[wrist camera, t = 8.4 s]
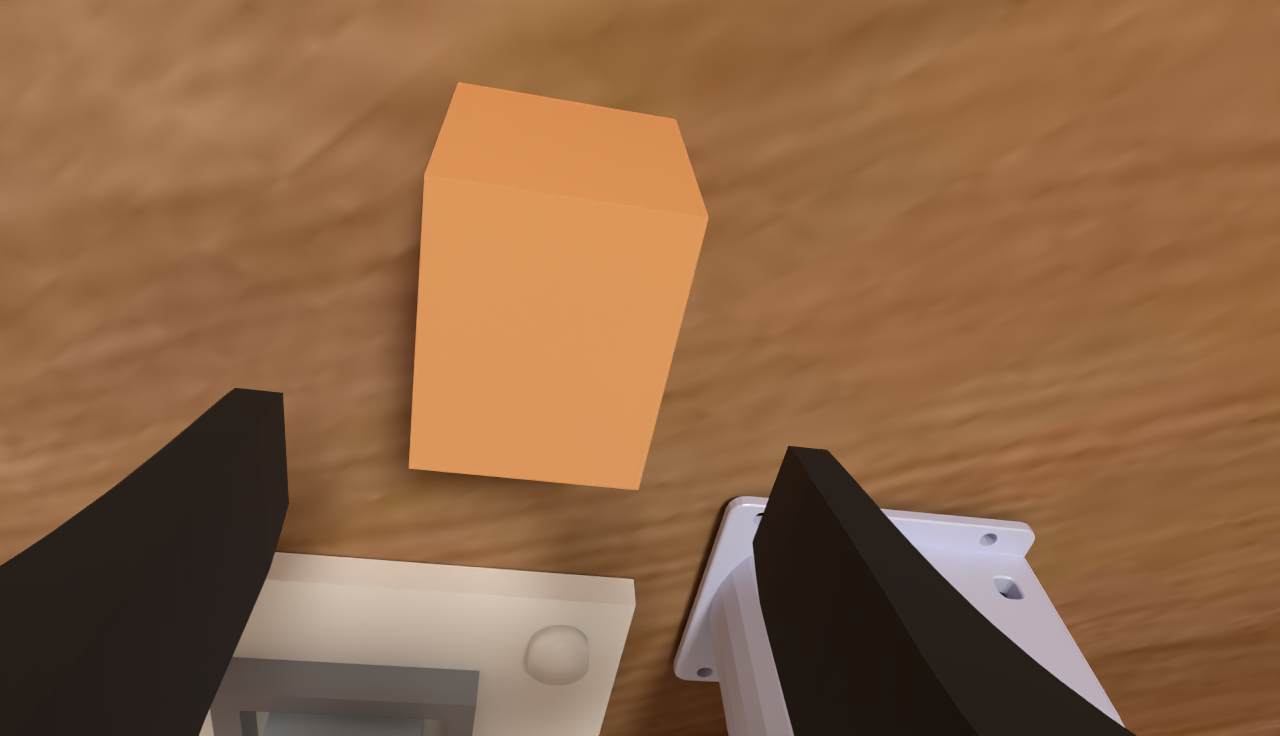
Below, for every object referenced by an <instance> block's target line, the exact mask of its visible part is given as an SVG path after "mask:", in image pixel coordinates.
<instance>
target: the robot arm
mask: <svg viewBox="0 0 1280 736" xmlns="http://www.w3.org/2000/svg"><path fill="white" fill-rule="evenodd" d="M288 505H289V498H288V479H287V461H286V443H285V424H284V406H283V393H279V392H269V391H260V390H250V389H240V388H234V389H233V390H232V391H230V392H229V393H227V394H226V395H225V396H224V397H223V398H221V399H220V400H219V401H218V402H217V403H215V404H214V405H213V406H212V407H211V408H210V409H208V410H207V411H206V412H205V413H204V414H202V415H201V416H200V417H199V418H198V419H197V420H195V421H194V422H193V423H192V424H191V425H190V426H188V427H187V428H186V429H185V430H184V431H183V432H181V433H180V434H179V435H178V436H177V437H175V438H174V439H173V440H172V441H171V442H169V443H168V444H167V445H166V446H165V447H163V448H162V449H161V450H160V451H159V452H157V453H156V454H155V455H153V456H152V457H151V458H150V459H148V460H147V461H146V462H145V463H143V464H142V465H141V466H140V467H138V468H137V469H136V470H135V471H133V472H132V473H131V474H130V475H128V476H127V477H126V478H125V479H123V480H122V481H121V482H120V483H118V484H117V485H116V486H114V487H113V488H112V489H110V490H109V491H108V492H107V493H105V494H104V495H102V496H101V497H100V498H98V499H97V500H96V501H94V502H93V503H91V504H90V505H89V506H87V507H86V508H84V509H83V510H82V511H80V512H79V513H78V514H76V515H75V516H73V517H72V518H71V519H69V520H68V521H66V522H65V523H64V524H62V525H61V526H60V527H58V528H57V529H55V530H54V531H53V532H51V533H50V534H48V535H47V536H45V537H44V538H42V539H41V540H39V541H38V542H36V543H35V544H33V545H32V546H30V547H29V548H27V549H26V550H24V551H23V552H21V553H20V554H18V555H17V556H15V557H14V558H12V559H10V560H9V561H7V562H6V563H4V564H3V565H1V566H0V736H199V734H200V732H201V729H202V726H203V724H204V721H205V719H206V716H207V714H208V712H209V709H210V707H211V705H212V702H213V700H214V698H215V696H216V693H217V691H218V689H219V686H220V684H221V682H222V679H223V677H224V675H225V673H226V670H227V668H228V666H229V663H230V661H231V659H232V656H233V654H234V652H235V650H236V647H237V645H238V643H239V640H240V638H241V636H242V634H243V631H244V629H245V627H246V624H247V622H248V620H249V617H250V615H251V613H252V610H253V608H254V606H255V603H256V601H257V599H258V596H259V594H260V592H261V589H262V587H263V585H264V582H265V580H266V577H267V575H268V573H269V570H270V567H271V564H272V561H273V557H274V554H275V551H276V547H277V544H278V540H279V537H280V533H281V530H282V526H283V523H284V519H285V515H286V512H287V508H288ZM759 513H763V515H762V516H756V515H757V514H759ZM1034 539H1035V536H1034V533H1033V531H1032V530H1031V528H1030V527H1029V526H1028V525H1027V524H1026V523H1023V522H1015V521H1005V520H994V519H984V518H973V517H963V516H952V515H942V514H931V513H920V512H910V511H899V510H889V509H880V508H879V507H878V506H877V505H876V504H875V502H874V501H873V500H872V499H871V498H870V497H869V496H868V494H867V493H866V492H865V491H864V490H863V489H862V488H861V487H860V485H859V484H858V483H857V482H856V481H855V480H854V479H853V477H852V476H851V475H850V474H849V473H848V472H847V471H846V470H845V469H844V467H843V466H842V465H841V464H840V463H839V462H838V461H837V460H836V459H835V458H834V457H833V456H832V455H831V453H830V452H829V451H828V450H823V449H813V448H804V447H794V446H788V449H787V451H786V454H785V457H784V459H783V462H782V465H781V467H780V470H779V473H778V475H777V478H776V481H775V483H774V486H773V489H772V491H771V494H770V496H769V498H762V497H752V496H741V497H738V498H735V499H734V500H732V501H731V502H729V504H728V506H727V507H726V510H725V513H724V516H723V519H722V522H721V525H720V527H719V530H718V533H717V536H716V539H715V542H714V545H713V548H712V551H711V554H710V557H709V560H708V563H707V566H706V569H705V571H704V574H703V577H702V580H701V583H700V586H699V589H698V592H697V595H696V598H695V601H694V604H693V607H692V610H691V613H690V615H689V618H688V621H687V624H686V627H685V630H684V633H683V636H682V639H681V642H680V645H679V648H678V651H677V654H676V657H675V659H674V672H675V675H676V676H677V677H679V678H680V679H683V680H693V681H711V682H719V684H720V690H721V695H722V701H723V707H724V713H725V719H726V724H727V730H728V736H1136V735H1135V734H1133V733H1132V732H1130V731H1129V730H1128V729H1126V728H1125V726H1124V724H1123V723H1122V721H1121V719H1120V717H1119V715H1118V713H1117V711H1116V710H1115V708H1114V706H1113V705H1112V703H1111V701H1110V700H1109V698H1108V696H1107V695H1106V693H1105V691H1104V690H1103V688H1102V686H1101V685H1100V683H1099V681H1098V680H1097V678H1096V676H1095V675H1094V673H1093V671H1092V670H1091V668H1090V666H1089V665H1088V663H1087V661H1086V660H1085V658H1084V656H1083V655H1082V653H1081V651H1080V650H1079V648H1078V646H1077V645H1076V643H1075V641H1074V640H1073V638H1072V636H1071V635H1070V633H1069V631H1068V629H1067V628H1066V626H1065V624H1064V623H1063V621H1062V619H1061V618H1060V616H1059V614H1058V613H1057V611H1056V609H1055V608H1054V606H1053V604H1052V603H1051V601H1050V599H1049V598H1048V596H1047V594H1046V593H1045V591H1044V589H1043V588H1042V586H1041V584H1040V583H1039V581H1038V579H1037V578H1036V576H1035V574H1034V573H1033V571H1032V569H1031V568H1030V566H1029V564H1028V563H1027V561H1026V559H1025V558H1024V556H1025V555H1026V553H1027V552H1028V550H1029V549H1030V547H1031V545H1032V544H1033V542H1034Z"/></svg>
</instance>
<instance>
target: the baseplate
mask: <svg viewBox="0 0 1280 736" xmlns="http://www.w3.org/2000/svg"><path fill="white" fill-rule="evenodd" d="M635 606H636V603H635V591H634V580H633V579H625V578H612V577H599V576H585V575H572V574H559V573H546V572H533V571H519V570H506V569H493V568H480V567H466V566H453V565H440V564H427V563H414V562H400V561H387V560H374V559H361V558H348V557H334V556H321V555H308V554H295V553H281V552H275V554H274V557H273V561H272V564H271V567H270V570H269V573H268V575H267V577H266V580H265V582H264V585H263V587H262V589H261V592H260V594H259V596H258V599H257V601H256V603H255V606H254V608H253V610H252V613H251V615H250V617H249V620H248V622H247V624H246V627H245V629H244V631H243V634H242V636H241V638H240V640H239V643H238V645H237V647H236V650H235V652H234V654H233V656H232V659H231V661H230V663H229V666H228V668H227V670H226V673H225V675H224V677H223V679H222V682H221V684H220V686H219V689H218V691H217V693H216V696H215V698H214V700H213V702H212V705H211V707H210V709H209V712H208V714H207V716H206V719H205V721H204V724H203V726H202V729H201V732H200V734H199V736H262V734H263V731H264V728H265V725H266V722H267V719H268V716H269V713H270V712H278V713H300V714H322V715H344V716H366V717H389V718H411V719H425V720H424V730H423V736H599V733H600V729H601V726H602V722H603V719H604V715H605V712H606V708H607V705H608V701H609V698H610V694H611V691H612V687H613V684H614V680H615V676H616V673H617V669H618V666H619V662H620V659H621V655H622V652H623V648H624V645H625V641H626V638H627V634H628V631H629V627H630V624H631V620H632V617H633V613H634V610H635Z"/></svg>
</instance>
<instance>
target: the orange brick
mask: <svg viewBox="0 0 1280 736" xmlns="http://www.w3.org/2000/svg"><path fill="white" fill-rule="evenodd" d="M708 218H709V217H708V214H707V211H706V208H705V205H704V202H703V199H702V196H701V193H700V190H699V187H698V184H697V181H696V178H695V175H694V172H693V169H692V166H691V163H690V160H689V157H688V154H687V151H686V148H685V145H684V142H683V139H682V136H681V133H680V130H679V127H678V124H677V121H676V119H671V118H665V117H659V116H653V115H647V114H641V113H636V112H630V111H624V110H618V109H612V108H606V107H601V106H595V105H589V104H583V103H577V102H572V101H566V100H560V99H554V98H548V97H542V96H537V95H531V94H525V93H519V92H513V91H507V90H502V89H496V88H490V87H484V86H478V85H472V84H467V83H461V82H458V84H457V87H456V90H455V92H454V95H453V98H452V101H451V103H450V106H449V109H448V111H447V114H446V117H445V120H444V122H443V125H442V128H441V131H440V133H439V136H438V139H437V141H436V144H435V147H434V150H433V152H432V155H431V158H430V161H429V163H428V166H427V169H426V172H425V174H424V192H423V211H422V230H421V249H420V267H419V286H418V305H417V324H416V342H415V361H414V380H413V399H412V418H411V436H410V455H409V469H419V470H430V471H440V472H451V473H462V474H472V475H483V476H493V477H504V478H515V479H525V480H536V481H546V482H557V483H568V484H578V485H589V486H599V487H610V488H621V489H631V490H638V489H639V485H640V481H641V477H642V474H643V470H644V466H645V462H646V458H647V454H648V450H649V446H650V443H651V439H652V435H653V431H654V427H655V423H656V419H657V415H658V412H659V408H660V404H661V400H662V396H663V392H664V388H665V385H666V381H667V377H668V373H669V369H670V365H671V361H672V357H673V354H674V350H675V346H676V342H677V338H678V334H679V330H680V326H681V323H682V319H683V315H684V311H685V307H686V303H687V299H688V295H689V292H690V288H691V284H692V280H693V276H694V272H695V268H696V265H697V261H698V257H699V253H700V249H701V245H702V241H703V237H704V234H705V230H706V226H707V222H708Z"/></svg>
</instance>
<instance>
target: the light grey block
mask: <svg viewBox="0 0 1280 736" xmlns="http://www.w3.org/2000/svg"><path fill="white" fill-rule="evenodd" d="M424 720H425V719H411V718H389V717H366V716H344V715H322V714H300V713H278V712H270V713H269V716H268V719H267V722H266V725H265V728H264V731H263V734H262V736H423V730H424Z"/></svg>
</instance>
